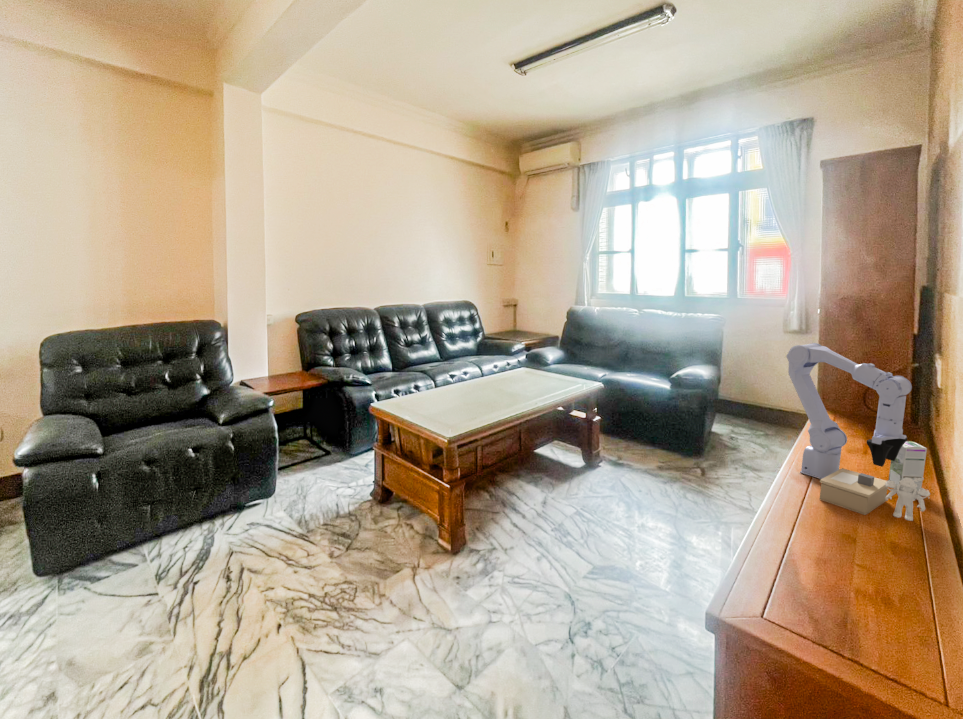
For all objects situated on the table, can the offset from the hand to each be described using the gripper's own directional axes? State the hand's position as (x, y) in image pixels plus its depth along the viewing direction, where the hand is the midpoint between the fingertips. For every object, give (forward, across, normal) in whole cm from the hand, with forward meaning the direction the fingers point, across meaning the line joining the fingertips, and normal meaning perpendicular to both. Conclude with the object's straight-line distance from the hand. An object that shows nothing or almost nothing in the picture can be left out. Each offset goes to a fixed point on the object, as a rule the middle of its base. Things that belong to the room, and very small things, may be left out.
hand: (884, 462), depth 134 cm
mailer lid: (+5, -10, +3) cm, 12 cm away
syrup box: (+11, +11, -2) cm, 15 cm away
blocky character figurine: (+11, -10, -8) cm, 17 cm away
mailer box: (+10, -10, +3) cm, 15 cm away
